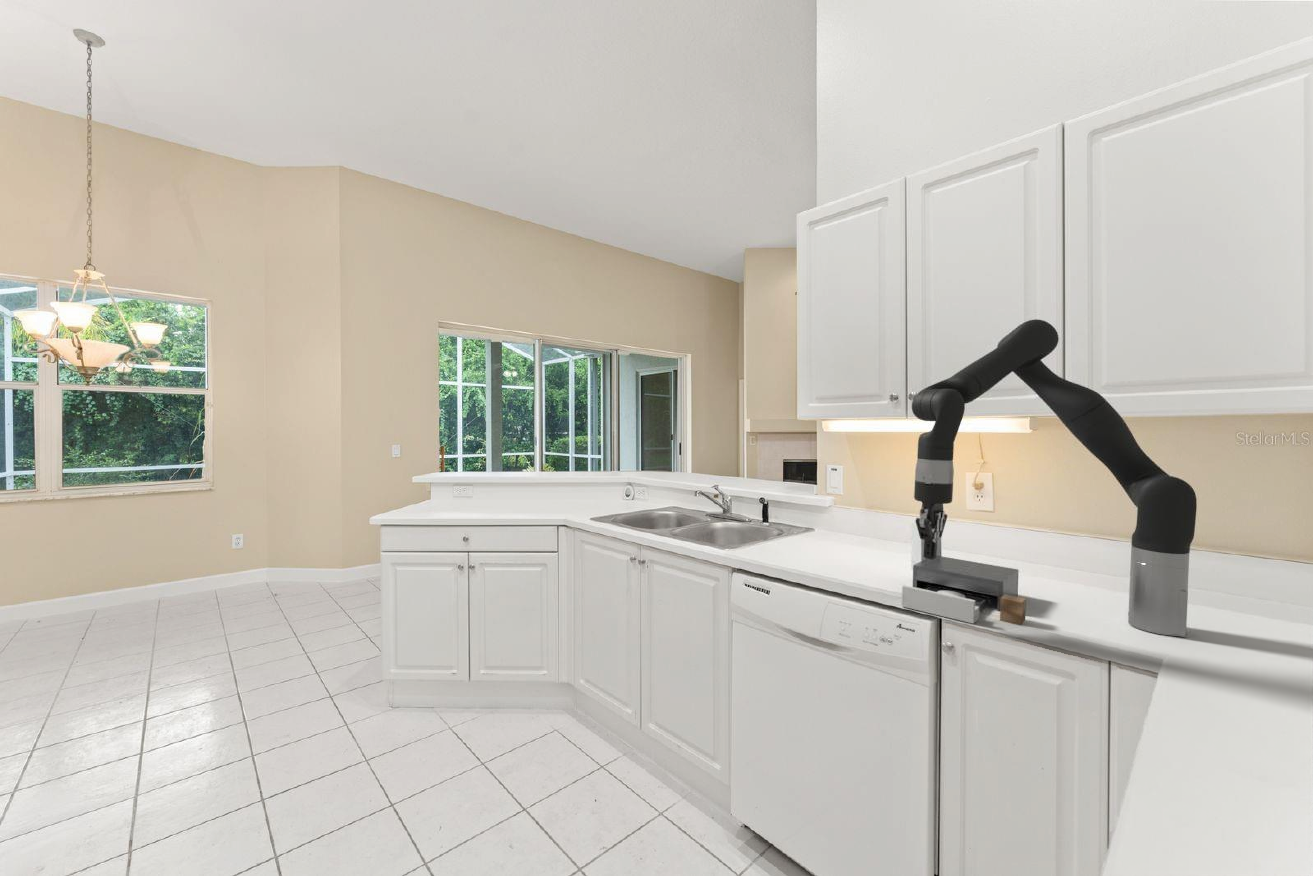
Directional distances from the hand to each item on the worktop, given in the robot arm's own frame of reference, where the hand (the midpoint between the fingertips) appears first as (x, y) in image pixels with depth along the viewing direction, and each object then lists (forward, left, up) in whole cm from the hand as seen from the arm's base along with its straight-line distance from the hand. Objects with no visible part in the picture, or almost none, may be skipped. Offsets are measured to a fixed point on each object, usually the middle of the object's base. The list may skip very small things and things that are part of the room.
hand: (929, 558), depth 120 cm
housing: (0, -26, -14) cm, 30 cm away
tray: (0, -13, -13) cm, 19 cm away
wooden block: (-13, -13, -14) cm, 23 cm away
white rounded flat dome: (-1, -15, -13) cm, 19 cm away
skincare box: (+14, -40, -14) cm, 45 cm away
